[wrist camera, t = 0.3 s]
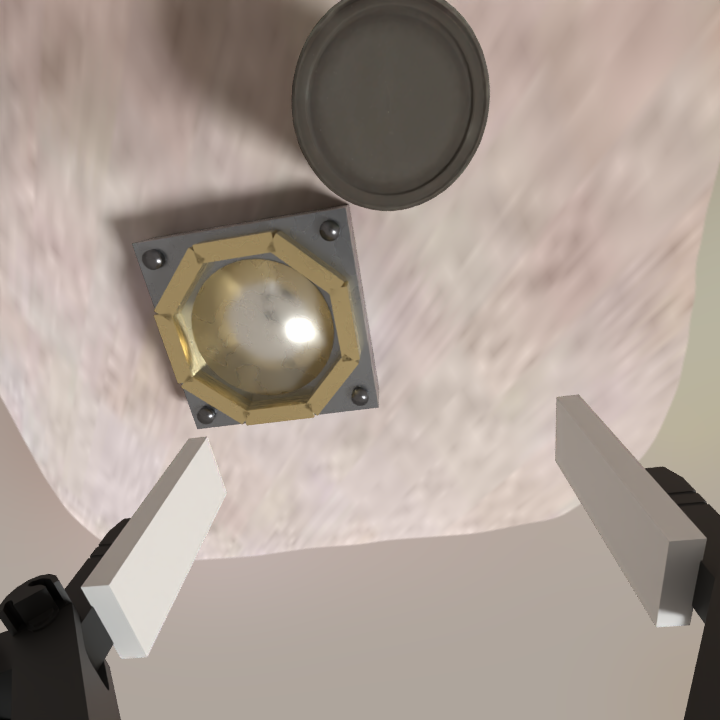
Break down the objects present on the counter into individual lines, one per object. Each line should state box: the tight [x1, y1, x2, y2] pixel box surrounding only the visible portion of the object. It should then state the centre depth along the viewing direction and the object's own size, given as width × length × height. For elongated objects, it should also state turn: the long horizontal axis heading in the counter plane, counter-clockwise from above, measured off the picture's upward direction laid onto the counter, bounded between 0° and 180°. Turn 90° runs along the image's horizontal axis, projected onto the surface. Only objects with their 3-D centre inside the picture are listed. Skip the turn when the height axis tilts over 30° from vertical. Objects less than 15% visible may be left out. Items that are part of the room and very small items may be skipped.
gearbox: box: [132, 205, 379, 429], centre depth 39 cm, size 18×18×6 cm
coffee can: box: [292, 0, 490, 211], centre depth 29 cm, size 10×10×14 cm
